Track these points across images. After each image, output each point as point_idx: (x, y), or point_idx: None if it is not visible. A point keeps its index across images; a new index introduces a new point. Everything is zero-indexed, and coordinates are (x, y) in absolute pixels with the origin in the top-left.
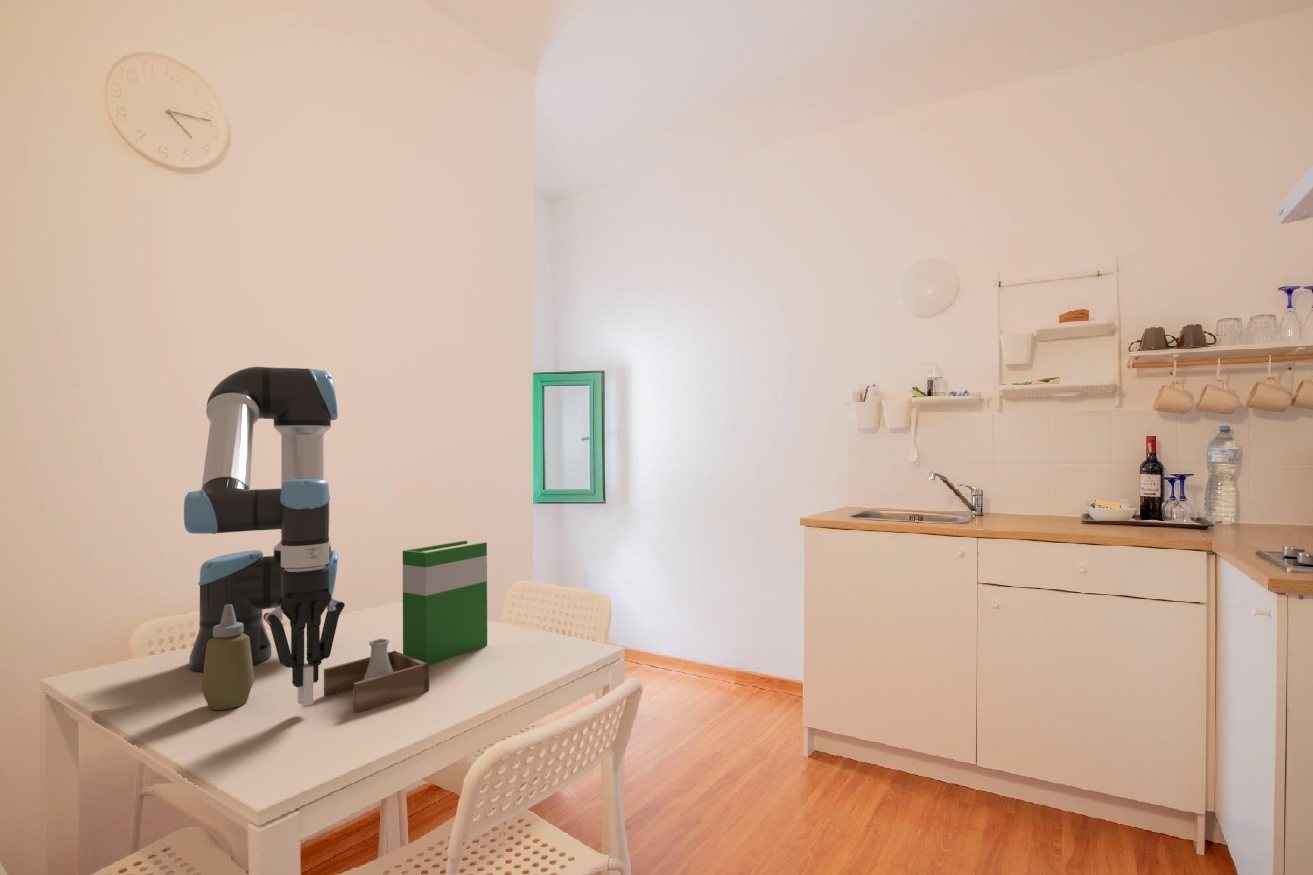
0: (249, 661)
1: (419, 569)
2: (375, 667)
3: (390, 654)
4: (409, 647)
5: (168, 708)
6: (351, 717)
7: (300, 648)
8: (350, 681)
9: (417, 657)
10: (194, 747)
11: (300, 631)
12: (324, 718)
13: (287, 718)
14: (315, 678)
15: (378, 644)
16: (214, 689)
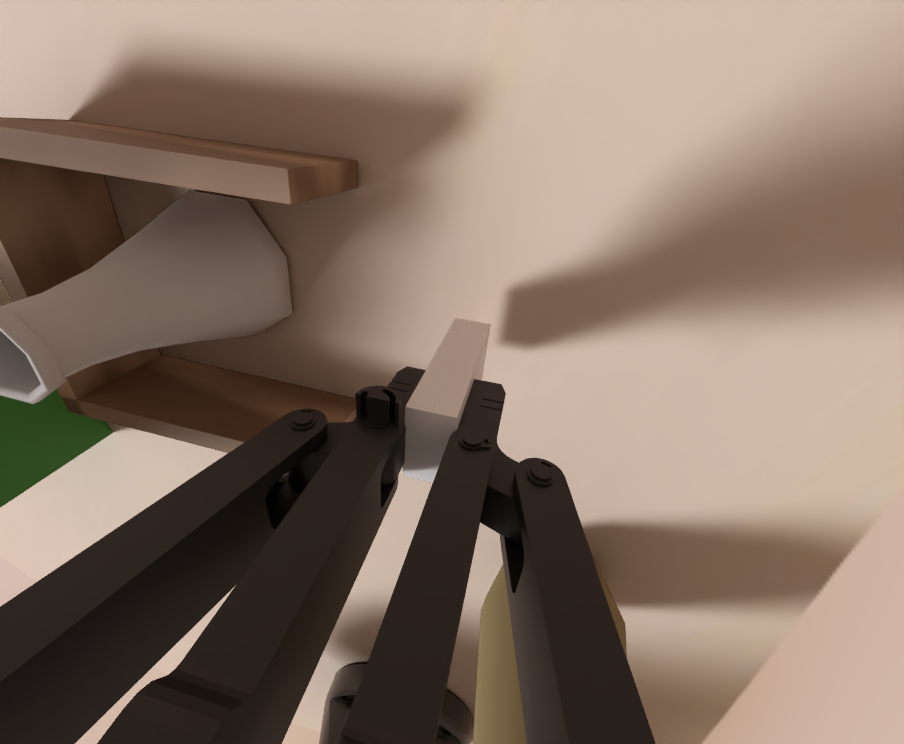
0: (505, 668)
1: None
2: (150, 283)
3: (88, 399)
4: (48, 438)
5: (635, 648)
6: (390, 131)
7: (448, 533)
8: (271, 399)
9: (55, 390)
10: (864, 405)
11: (398, 710)
12: (460, 229)
13: (532, 352)
14: (409, 378)
15: (2, 317)
16: (619, 624)
